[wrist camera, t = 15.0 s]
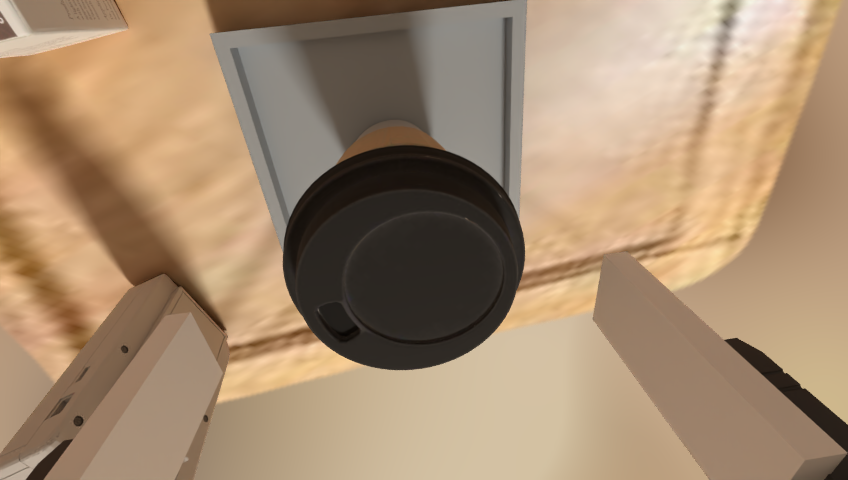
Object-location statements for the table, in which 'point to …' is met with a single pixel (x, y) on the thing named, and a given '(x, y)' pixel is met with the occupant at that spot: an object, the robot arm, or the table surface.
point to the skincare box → (54, 24)
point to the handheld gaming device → (110, 376)
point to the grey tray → (378, 91)
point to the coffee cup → (403, 252)
